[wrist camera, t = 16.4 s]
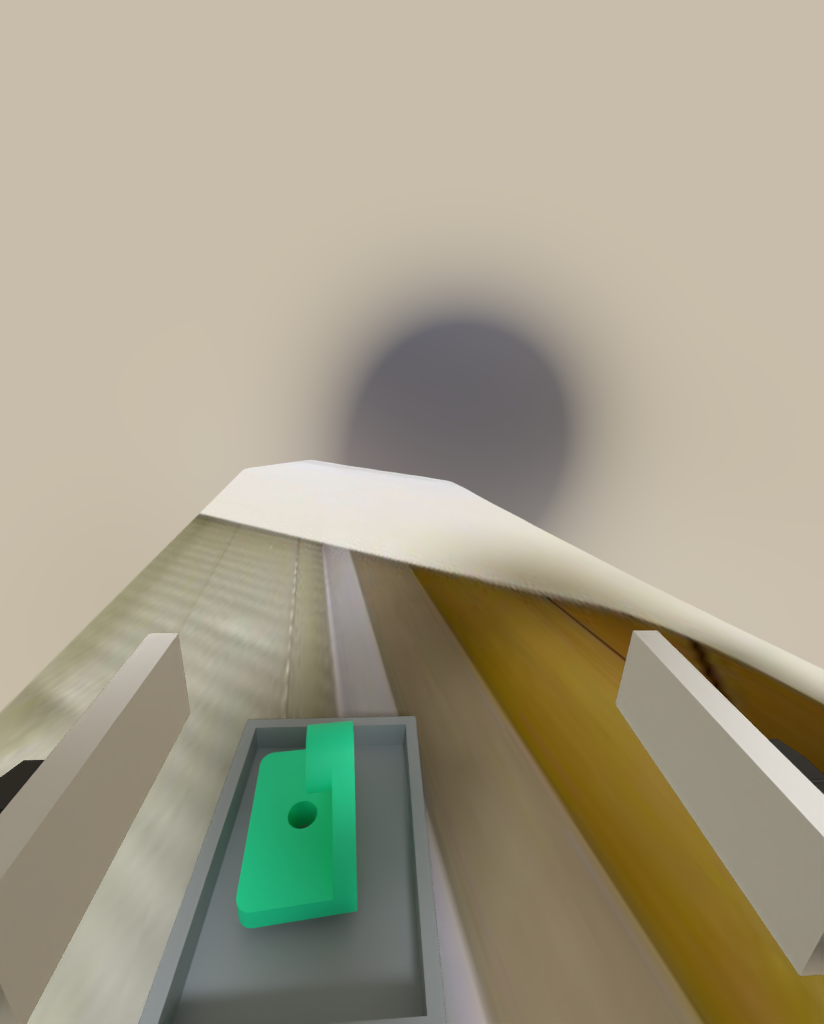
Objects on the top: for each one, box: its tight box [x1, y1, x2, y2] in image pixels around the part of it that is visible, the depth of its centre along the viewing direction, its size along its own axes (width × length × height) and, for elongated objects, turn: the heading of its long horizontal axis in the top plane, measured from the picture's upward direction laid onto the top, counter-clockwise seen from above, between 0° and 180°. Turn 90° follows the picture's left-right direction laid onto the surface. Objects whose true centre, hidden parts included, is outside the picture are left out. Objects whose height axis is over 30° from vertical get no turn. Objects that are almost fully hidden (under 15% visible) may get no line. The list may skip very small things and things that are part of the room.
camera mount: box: [236, 721, 357, 928], centre depth 33 cm, size 12×8×10 cm, turn 9°
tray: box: [138, 716, 447, 1024], centre depth 33 cm, size 16×22×4 cm
